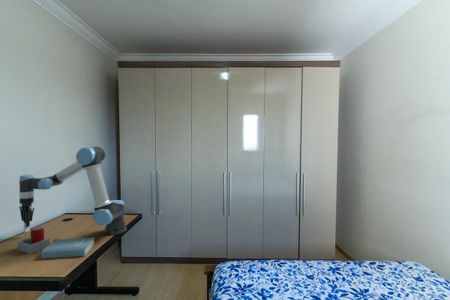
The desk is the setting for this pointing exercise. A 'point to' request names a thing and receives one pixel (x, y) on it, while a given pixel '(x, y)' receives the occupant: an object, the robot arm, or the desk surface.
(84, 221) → the desk surface
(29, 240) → the tray
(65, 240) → the book
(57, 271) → the desk surface
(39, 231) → the beverage can
